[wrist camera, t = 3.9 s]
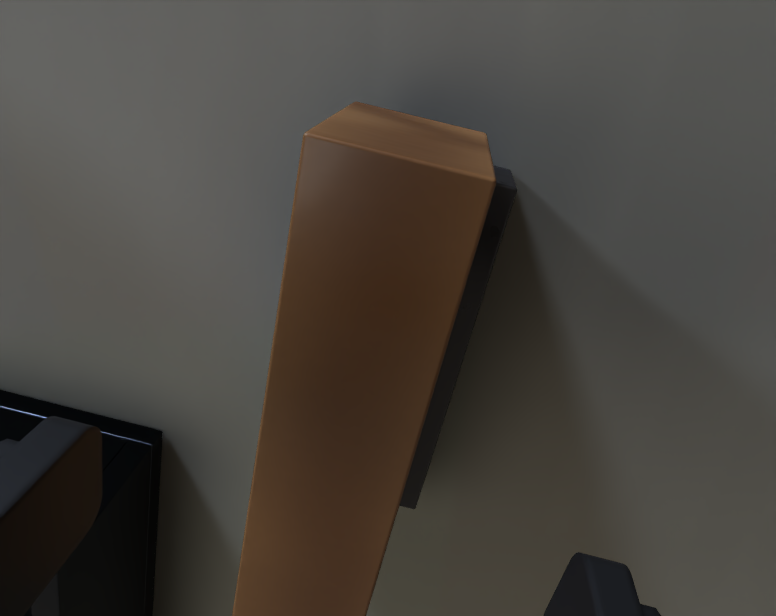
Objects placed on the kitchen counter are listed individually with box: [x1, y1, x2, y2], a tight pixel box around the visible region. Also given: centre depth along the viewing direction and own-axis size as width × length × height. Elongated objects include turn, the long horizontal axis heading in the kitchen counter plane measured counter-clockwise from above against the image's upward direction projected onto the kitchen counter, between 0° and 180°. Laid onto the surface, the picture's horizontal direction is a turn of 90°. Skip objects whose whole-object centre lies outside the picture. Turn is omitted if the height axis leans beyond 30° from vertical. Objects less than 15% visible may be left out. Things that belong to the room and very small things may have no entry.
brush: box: [232, 102, 517, 616], centre depth 14 cm, size 5×12×6 cm, turn 168°
